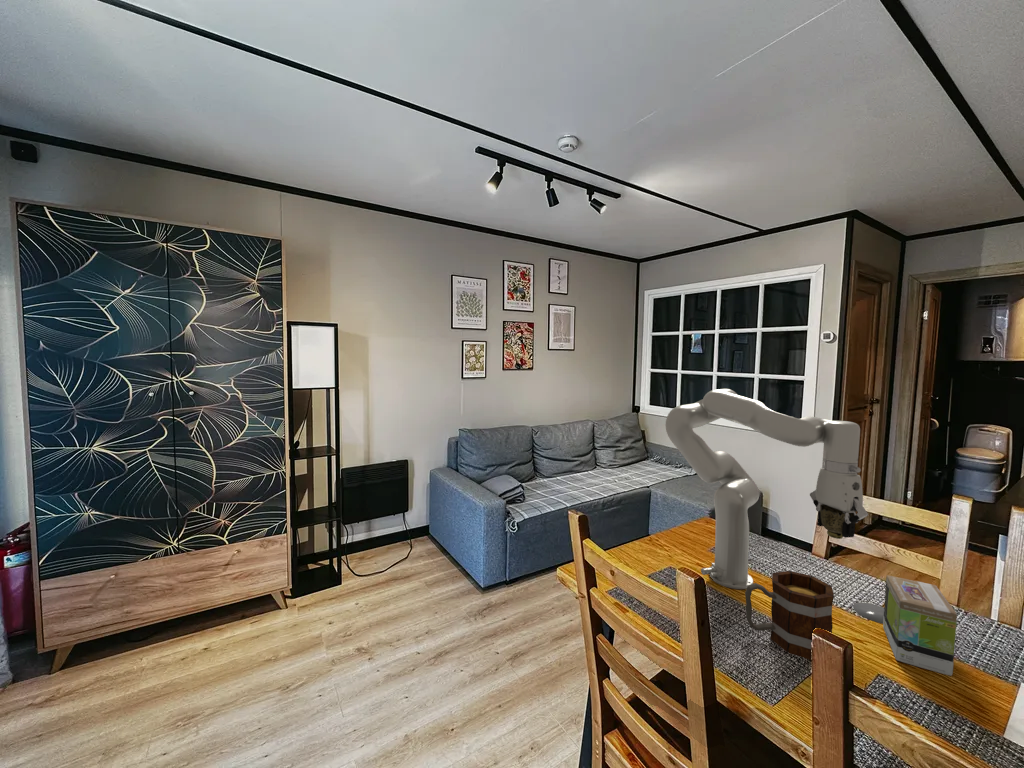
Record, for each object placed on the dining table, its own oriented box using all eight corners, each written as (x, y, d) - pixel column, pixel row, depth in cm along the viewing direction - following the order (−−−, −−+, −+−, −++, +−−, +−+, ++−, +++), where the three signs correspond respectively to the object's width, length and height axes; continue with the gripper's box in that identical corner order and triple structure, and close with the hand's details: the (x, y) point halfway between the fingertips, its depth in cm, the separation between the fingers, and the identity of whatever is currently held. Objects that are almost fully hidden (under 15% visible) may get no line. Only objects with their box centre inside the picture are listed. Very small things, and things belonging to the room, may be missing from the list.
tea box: (955, 678, 94) (958, 614, 93) (895, 661, 100) (898, 600, 99) (933, 640, 107) (937, 583, 106) (881, 627, 112) (884, 572, 111)
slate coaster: (879, 628, 112) (880, 626, 112) (843, 606, 122) (843, 604, 122) (910, 623, 114) (910, 621, 114) (872, 602, 124) (872, 600, 124)
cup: (858, 544, 111) (860, 514, 111) (826, 541, 113) (829, 512, 112) (842, 532, 119) (844, 504, 118) (813, 529, 120) (814, 502, 120)
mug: (815, 628, 112) (817, 572, 111) (846, 664, 99) (848, 601, 98) (735, 620, 115) (736, 566, 114) (754, 654, 102) (756, 594, 101)
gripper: (884, 475, 107) (879, 544, 108) (822, 458, 124) (818, 518, 125) (859, 476, 105) (854, 546, 107) (800, 459, 122) (796, 519, 124)
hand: (835, 530), depth 116 cm, fingers closed on cup, 6 cm apart
